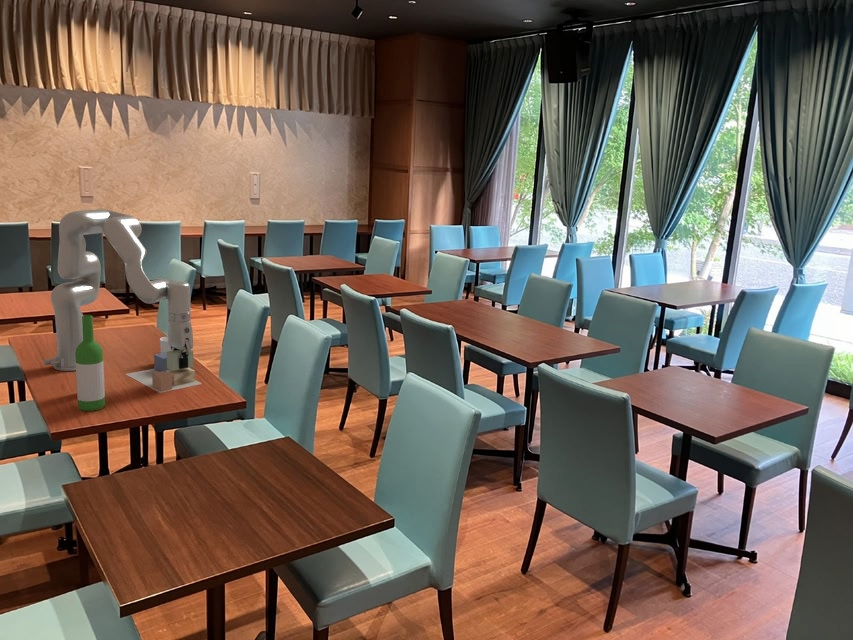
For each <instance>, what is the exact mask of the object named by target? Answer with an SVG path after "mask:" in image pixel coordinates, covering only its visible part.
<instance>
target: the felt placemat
mask: <svg viewBox="0 0 853 640" xmlns="http://www.w3.org/2000/svg"><path fill="white" fill-rule="evenodd" d="M156 372H158V371H156V370H155V368H151V369H146V370H139V371H134V372H129V373H125V375H126V376H128V377H129V378H131V379H134V380H135V381H137V382H139V383H141V384H142V385H144V386H146V387H148V388H150V389H152V390H153V391H156V392H157V393H159V394H161V393H166V392H170V391H176V390H181V389H185V388H188V387H189V388H190V387H194V386H198V385H199V386H200V385H202V384H203V382H200V381H198V380H196V379H195V381H194V382H189V383H184V384H179V385H173V384H172V389H170V390H166V391H159V390H157V389H156V388H154V387H153V382H152V373H156Z"/></svg>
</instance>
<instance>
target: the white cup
mask: <svg viewBox="0 0 853 640" xmlns="http://www.w3.org/2000/svg"><path fill="white" fill-rule="evenodd" d="M159 344H160V345H159V347H160V353H166V354H167V352H168V351H172V350H171V347H170V345H169V343H168V335H167V336H163V337H160V338H159Z"/></svg>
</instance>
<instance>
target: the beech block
mask: <svg viewBox="0 0 853 640" xmlns="http://www.w3.org/2000/svg"><path fill="white" fill-rule="evenodd" d="M166 373H168V374H170V375H172V384H173V385H179V384H184V383H189V382H194V381H195V380H196V370H195V369H192V367H190V368H184V369H179V370H174V371H172V370H166Z"/></svg>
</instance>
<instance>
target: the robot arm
mask: <svg viewBox="0 0 853 640" xmlns="http://www.w3.org/2000/svg"><path fill="white" fill-rule="evenodd" d="M142 229H143V228H142V224H141V223H140V221H139V220H138V219H137V218H136V217H134V216H132V215H129V214H126V213H121V212H117V211H112V210H109V209H101V208H100V209H97V208H96V209H85V210H84V209H82V210H75V211H72V212H69V213H66V214H65V215H63V217H62V218H61V219H60V221H59V224H58V232H59V235H58V236H59V242H58V243H59V245H58V257H57V273H58V275H59V277H60V278H61V279H62V280H65V281H67V282H64V283H63V282H62V283H61V284H60V283H59V284H58V285H56V286H55V287H54V288H53V289H52V291H51V293H50V301H51V305H52V307H53V312H54V319H55V321H54V322H55V331H56V347H57V350H56V351H57V354H55V355H54V357H52V358H47V359H43V366H46V365H50V366H53V369H55V370H57V371H61V372H62V371H63V372H72V371H73V372H74V371H75V372H76V357H75V352H76V348H77V347H78V345H79V344H80V343H81V342H82V341H83V327H82V316H83V315H84V314H83V312H82V310H81V308H80V307H84V306H87V305H90V304H93V303H94V302H96V301H97V299H98V297H99V293H100V284H101V272H102V266H101V265H102V264H101V261H100V259H99V257H98V256H97V254H95V253H94V252H92V251H87V250H86V248H87V243H86V239H85V236H84V235H86V236H87V235H94V234H95V235H96V234H104V236H105V238H106V239H107V241H108V242H109V244H111V246H112V248H113V249H114V250H115V252H116V253H117V254H118V256H119V257H120V258H121V260H122V261H123V263H124V272H125V278H126V282H127V283H128V285H129V287H130V289H132V292H133V293H134V294H135V296H136V297H137V298H138V299H139V300H140V301H142V302H143V303H145V304H149V305H150V304H155V303H159V302H162V301H167V321H168V325H167V328H168V329H167V336H168V343H169V345H170V347H171V350H172V351H174V350H179V352H180V358H179V369H184V368H188V357H189V354H190V353H191V352H192V351H191V350H192V349H193V348H194V334H193V333H194V332H193V326H192V322H191V320H192V318H191V314H192V313H191V311H192V310H191V308H192V307H191V285H190V283H189V282H186V281H180V280H179V281H176V280H171V279H169V278H158V279H154V280H150V279H149V278H148V276H147V275H146V273H145V271H144V270H143V265H142V263H143V260H144V258H145V257H146V256H147V253H148V252H147V251H148V250H147V249H146V248H145V246H144V245H143V244H142V242H141V240H140V239H139V237H140V236H141V234H142V232H143V230H142ZM182 351H185V352H184V353H183V352H182Z"/></svg>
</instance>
